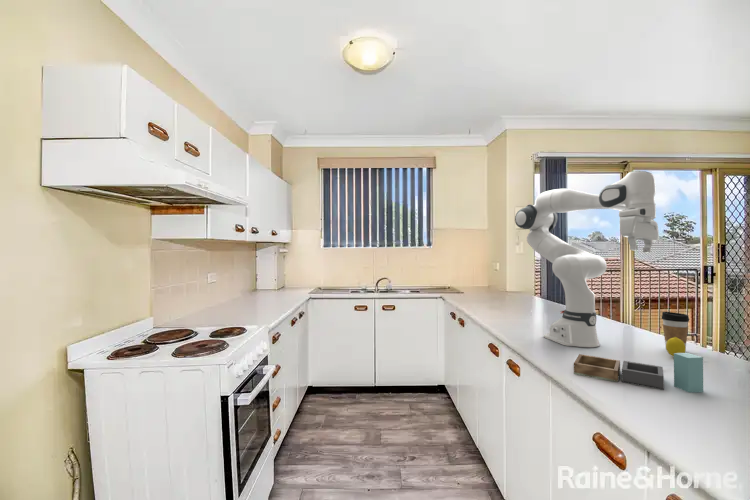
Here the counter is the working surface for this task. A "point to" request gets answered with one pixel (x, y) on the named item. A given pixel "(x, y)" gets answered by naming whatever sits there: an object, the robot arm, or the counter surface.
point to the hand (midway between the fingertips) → (640, 251)
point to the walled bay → (597, 367)
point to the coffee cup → (675, 326)
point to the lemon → (675, 346)
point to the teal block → (688, 372)
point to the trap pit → (643, 374)
